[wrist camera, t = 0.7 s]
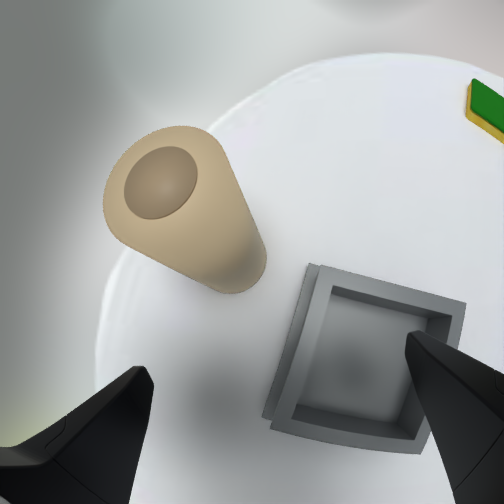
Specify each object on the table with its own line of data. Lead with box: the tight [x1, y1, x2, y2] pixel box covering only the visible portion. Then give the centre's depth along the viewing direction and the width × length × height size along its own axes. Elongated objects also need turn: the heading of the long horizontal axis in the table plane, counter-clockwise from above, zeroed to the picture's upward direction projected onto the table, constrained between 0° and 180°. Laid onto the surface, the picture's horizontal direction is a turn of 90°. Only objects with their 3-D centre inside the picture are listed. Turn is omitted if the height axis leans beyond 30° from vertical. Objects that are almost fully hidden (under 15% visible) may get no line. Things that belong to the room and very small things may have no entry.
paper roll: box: [103, 126, 267, 294], centre depth 17 cm, size 6×6×13 cm
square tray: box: [262, 263, 466, 454], centre depth 17 cm, size 12×12×5 cm
